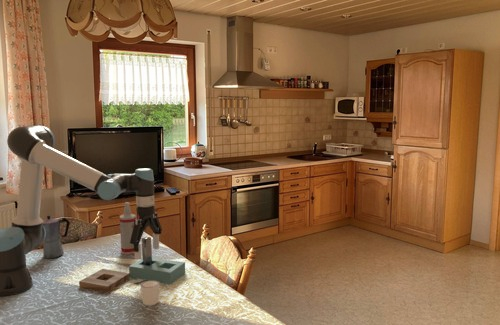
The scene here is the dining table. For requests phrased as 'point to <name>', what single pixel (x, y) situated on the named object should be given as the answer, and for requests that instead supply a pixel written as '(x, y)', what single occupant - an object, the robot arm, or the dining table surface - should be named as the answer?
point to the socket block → (100, 284)
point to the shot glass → (150, 292)
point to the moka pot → (53, 237)
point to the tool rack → (158, 270)
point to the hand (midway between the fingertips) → (147, 253)
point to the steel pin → (146, 251)
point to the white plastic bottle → (127, 230)
